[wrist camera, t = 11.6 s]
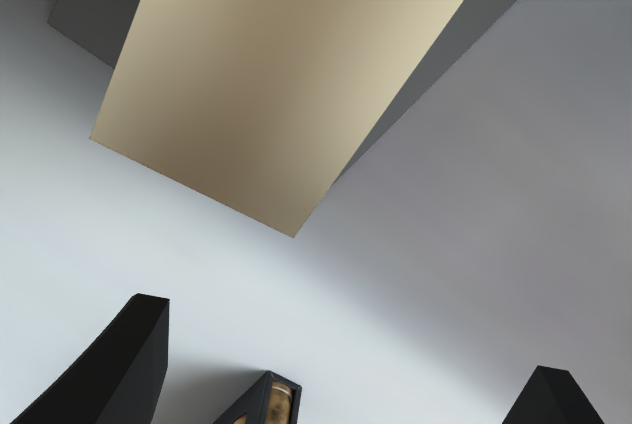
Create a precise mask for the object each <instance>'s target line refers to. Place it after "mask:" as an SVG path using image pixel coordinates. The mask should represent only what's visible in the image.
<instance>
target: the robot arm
mask: <svg viewBox="0 0 632 424" xmlns="http://www.w3.org/2000/svg"><path fill="white" fill-rule="evenodd" d="M169 301H170V299H167V298H161V297H156V296H150V295H145V294H139V293H137V294H136V295H134V296H132V297H131V298H130V300H129V301H128V302H127V303H126V305H125V306H124V307H123V308H122V310H121V311H120V312H119V313H118V314H117V316H116V317H115V318H114V319H113V320H112V321H111V323H110V324H109V325H108V326H107V327H106V328H105V329H104V331H103V332H102V333H101V334H100V335H99V336H98V337H97V338H96V339H95V340H94V342H93V343H92V344H91V345H90V346H89V347H88V348H87V349H86V350H85V351H84V352H83V353H82V354H81V355H80V356H79V357H78V358H77V359H76V361H75V362H74V363H73V364H72V365H71V366H70V367H69V368H68V369H67V370H66V371H65V372H64V373H63V374H62V375H61V376H60V377H59V378H58V379H57V380H56V381H55V382H54V383H53V384H52V385H51V386H50V387H49V388H48V389H47V390H46V391H45V392H43V393H42V394H41V395H40V396H39V397H38V398H37V399H36V400H35V401H34V402H33V403H32V404H31V405H29V406H28V407H27V408H26V409H25V410H24V411H23V412H22V413H21V414H20V415H19V416H18V417H17V418H16V419H14V420H13V421H12V422H11V423H10V424H150V423H151V420H152V418H153V415H154V412H155V408H156V405H157V402H158V398H159V395H160V392H161V388H162V385H163V381H164V378H165V375H166V371H167V368H168V336H169ZM502 424H604V422H603V421H602V419H601V418H600V416H599V415H598V413H597V412H596V410H595V409H594V408H593V406H592V405H591V403H590V402H589V400H588V399H587V397H586V396H585V394H584V393H583V391H582V390H581V388H580V387H579V385H578V384H577V383H576V381H575V380H574V378H573V377H572V375H571V374H570V373H569V371H566V370H561V369H555V368H550V367H544V366H539V365H538V366H537V367H536V369H535V371H534V372H533V374H532V375H531V377H530V379H529V380H528V382H527V384H526V385H525V387H524V388H523V390H522V392H521V393H520V395H519V397H518V398H517V400H516V401H515V403H514V405H513V406H512V408H511V410H510V411H509V413H508V414H507V416H506V418H505V419H504V421H503V423H502Z"/></svg>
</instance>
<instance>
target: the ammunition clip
mask: <svg viewBox="0 0 632 424" xmlns="http://www.w3.org/2000/svg"><path fill="white" fill-rule="evenodd" d="M301 392H302V387H300V386H298V385H296V384H294V383H292V382H290V381H288V380H286V379H284V378H282V377H280V376H278V375H276V374H274V373H272V372H270V371H267V372H266V373H265V374H264V375H263V376H262V377H261V378H260V379H259V380H258V381H257V382H256V383H255V384H254V385H252V386H251V387H250V388H249V389H248V390H247V391H246V392H245V393H244V394H243V395H242V396H241V397H240V398H239V399H238V400H237V401H236V402H235V403H234V404H233V405H232V406H230V407H229V408H228V409H227V410H226V411H225V412H224V413H223V414H222V415H221V416H220V417H219V418H218V419H217V420H216V421H215V422H214V423H213V424H297V419H298V412H299V405H300V398H301Z"/></svg>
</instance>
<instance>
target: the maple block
mask: <svg viewBox="0 0 632 424" xmlns="http://www.w3.org/2000/svg"><path fill="white" fill-rule="evenodd" d="M463 1H464V0H140V3H139V6H138V8H137V11H136V14H135V16H134V19H133V22H132V24H131V27H130V30H129V32H128V35H127V38H126V41H125V43H124V46H123V49H122V51H121V54H120V57H119V59H118V62H117V65H116V67H115V70H114V73H113V75H112V78H111V81H110V83H109V86H108V89H107V91H106V94H105V97H104V99H103V102H102V105H101V107H100V110H99V113H98V115H97V118H96V121H95V124H94V126H93V129H92V132H91V134H90V137H89V139H91V140H93V141H95V142H97V143H99V144H101V145H103V146H105V147H107V148H109V149H111V150H113V151H115V152H117V153H119V154H122V155H124V156H126V157H128V158H130V159H132V160H134V161H136V162H138V163H140V164H142V165H144V166H146V167H148V168H150V169H152V170H154V171H156V172H158V173H160V174H163V175H165V176H167V177H169V178H171V179H173V180H175V181H177V182H179V183H181V184H183V185H185V186H187V187H189V188H191V189H193V190H195V191H197V192H199V193H201V194H203V195H206V196H208V197H210V198H212V199H214V200H216V201H218V202H220V203H222V204H224V205H226V206H228V207H230V208H232V209H234V210H236V211H238V212H240V213H242V214H244V215H247V216H249V217H251V218H253V219H255V220H257V221H259V222H261V223H263V224H265V225H267V226H269V227H271V228H273V229H275V230H277V231H279V232H281V233H283V234H285V235H287V236H290V237H292V238H294V237H295V235H296V234H297V233H298V231H299V230H300V228H301V227H302V226H303V224H304V223H305V222H306V220H307V219H308V217H309V216H310V215H311V213H312V212H313V210H314V209H315V208H316V206H317V205H318V203H319V202H320V201H321V199H322V198H323V196H324V195H325V194H326V192H327V191H328V189H329V188H330V187H331V185H332V184H333V182H334V181H335V180H336V178H337V177H338V175H339V174H340V173H341V171H342V170H343V168H344V167H345V166H346V164H347V163H348V161H349V160H350V159H351V157H352V156H353V154H354V153H355V152H356V150H357V149H358V147H359V146H360V145H361V143H362V142H363V140H364V139H365V138H366V136H367V135H368V133H369V132H370V131H371V129H372V128H373V126H374V125H375V124H376V122H377V121H378V119H379V118H380V117H381V115H382V114H383V112H384V111H385V110H386V108H387V107H388V105H389V104H390V103H391V101H392V100H393V98H394V97H395V96H396V94H397V93H398V91H399V90H400V89H401V87H402V86H403V84H404V83H405V82H406V80H407V79H408V78H409V76H410V75H411V73H412V72H413V71H414V69H415V68H416V66H417V65H418V64H419V62H420V61H421V59H422V58H423V57H424V55H425V54H426V52H427V51H428V50H429V48H430V47H431V45H432V44H433V43H434V41H435V40H436V38H437V37H438V36H439V34H440V33H441V31H442V30H443V29H444V27H445V26H446V24H447V23H448V22H449V20H450V19H451V17H452V16H453V15H454V13H455V12H456V10H457V9H458V8H459V6H460V5H461V3H462V2H463Z"/></svg>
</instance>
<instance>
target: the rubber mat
mask: <svg viewBox="0 0 632 424" xmlns="http://www.w3.org/2000/svg"><path fill="white" fill-rule="evenodd" d="M516 1H517V0H464V1H463V2H462V3H461V5H460V6H459V8H458V9H457V10H456V12H455V13H454V15H453V16H452V17H451V19H450V20H449V22H448V23H447V24H446V26H445V27H444V29H443V30H442V31H441V33H440V34H439V36H438V37H437V38H436V40H435V41H434V43H433V44H432V45H431V47H430V48H429V50H428V51H427V52H426V54H425V55H424V57H423V58H422V59H421V61H420V62H419V64H418V65H417V66H416V68H415V69H414V71H413V72H412V73H411V75H410V76H409V78H408V79H407V80H406V82H405V83H404V84H403V86H402V87H401V89H400V90H399V91H398V93H397V94H396V96H395V97H394V98H393V100H392V101H391V103H390V104H389V105H388V107H387V108H386V110H385V111H384V112H383V114H382V115H381V117H380V118H379V119H378V121H377V122H376V124H375V125H374V126H373V128H372V129H371V131H370V132H369V133H368V135H367V136H366V138H365V139H364V140H363V142H362V143H361V145H360V146H359V147H358V149H357V150H356V152H355V153H354V154H353V156H352V157H351V159H350V160H349V161H348V163H347V164H346V166H345V167H344V168H343V170H342V171H341V173H340V174H339V175H338V177H337V178H336V180H335V181H334V182H333V184H334V183H335V182H336V181H337V180H338V179H339V178H340V177H341V176H342V175H343V174H344V173H345V172H346V171H347V170H348V169H349V168H350V167H351V166H352V165H353V164H354V163H355V162H356V161H357V160H358V159H359V158H360V157H361V156H362V155H363V154H364V153H365V152H366V151H367V150H368V149H369V148H370V147H371V146H372V145H373V144H374V143H375V142H376V141H377V140H378V139H379V138H380V137H381V136H382V135H383V134H384V133H385V132H386V131H387V130H388V129H389V128H390V127H391V126H392V125H393V124H394V123H395V122H396V121H397V120H398V119H399V118H400V117H401V116H402V115H403V114H404V113H405V112H406V111H407V110H408V109H409V108H410V107H411V106H412V105H413V104H414V103H415V102H416V101H417V100H418V99H419V98H420V97H421V96H422V95H423V94H424V93H425V92H426V91H427V90H428V89H429V88H430V87H431V86H432V85H433V84H434V83H435V82H436V81H437V80H438V79H439V78H440V77H441V76H442V75H443V74H444V73H445V72H446V71H447V70H448V69H449V68H450V67H451V66H452V65H453V64H454V63H455V62H456V61H457V60H458V59H459V58H460V57H461V56H462V55H463V54H464V53H465V52H466V51H467V50H468V49H469V48H470V47H471V46H472V45H473V44H474V43H475V42H476V41H477V40H478V39H479V38H480V37H481V36H482V35H483V34H484V33H485V32H486V31H487V30H488V29H489V28H490V27H491V26H492V25H493V24H494V23H495V22H496V21H497V20H498V19H499V18H500V17H501V16H502V15H503V14H504V13H505V12H506V11H507V10H508V9H509V8H510V7H511V6H512V5H513V4H514V3H515V2H516ZM139 3H140V0H58V1H57V3H56V5H55V7H54V9H53V11H52V13H51V15H50V17H49V19H48V21H47V23H48V24H49V25H51V26H52V27H54V28H55V29H57V30H58V31H60V32H61V33H62V34H64V35H65V36H67V37H68V38H70V39H71V40H73V41H74V42H76V43H77V44H79V45H80V46H81V47H83V48H84V49H86V50H87V51H89V52H90V53H92V54H93V55H95V56H96V57H98V58H99V59H100V60H102V61H103V62H105V63H106V64H108V65H109V66H111V67H112V68H114V69H115V67H116V65H117V62H118V59H119V57H120V54H121V51H122V49H123V46H124V43H125V41H126V38H127V35H128V32H129V30H130V27H131V24H132V22H133V19H134V16H135V14H136V11H137V8H138V6H139ZM333 184H332V185H333ZM332 185H331V186H332Z"/></svg>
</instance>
